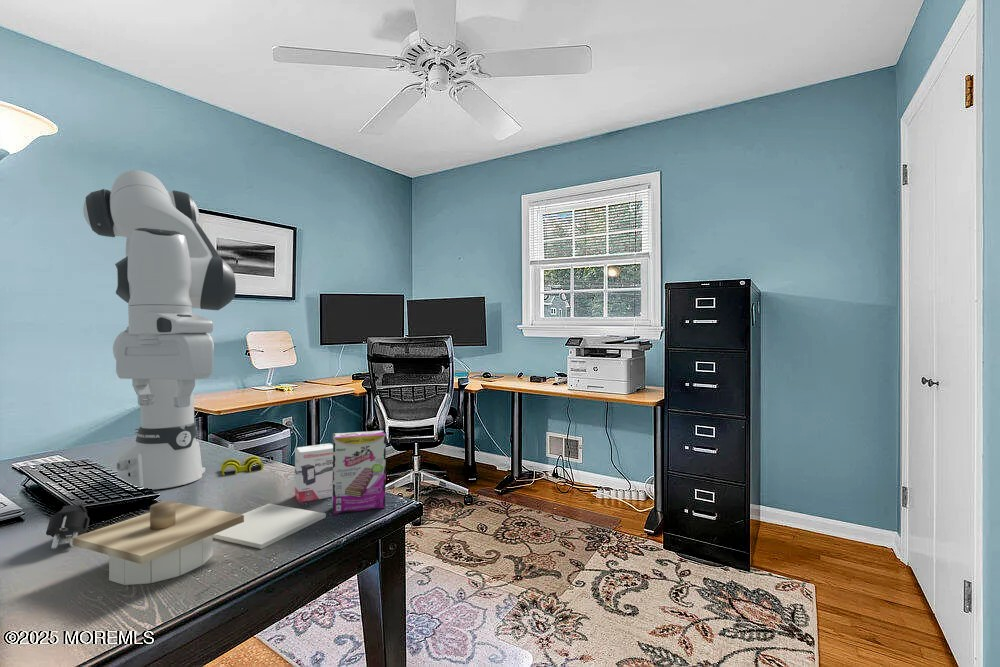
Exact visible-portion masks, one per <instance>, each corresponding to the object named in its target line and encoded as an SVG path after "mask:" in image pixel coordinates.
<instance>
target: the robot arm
mask: <svg viewBox="0 0 1000 667" xmlns="http://www.w3.org/2000/svg"><path fill="white" fill-rule="evenodd" d="M82 207H83V208H82V210H83V211H82V212H83V217H84V219H85V221H86V223H87V224H88V226H89V227H90V228H91V231H92V232H94V233H95V234H97V235H98V236H101V237H107V238H108V237H109V238H116V237H124V238H126V240H125V257H124V258H122V259H120V260H119V261H118V262H116V263H115V264H114V265H115V268H116V277H117V278H116V282H117V283H116V285H117V287H116V290H115V294H116V295H117V297H119V298H120V299H121V300H123V301H124V302H126V303H127V304H128V305H127V307H128V310H127V311H128V313H127V314H128V326H127V327H126V329H125V330H123V331H121V332H120V333H119V334H117V336H116V338H115V339H114V342H113V345H112V353H113V357H114V359H115V372H116V375H117V377H118V378H119V379H121V380H125V379H126V380H132V381H131V382H132V384H131V386H132V388H133V390H134V392H135V395H137V404H138V405H139V406H140V427H139V428H136V429H134V431H135V432H134V435H135V434H136V438H135V443H134V444H133V445H132V446H130V447H129V449H127V450H126V451H125V452H124V453H123V454H122V455H121V456H120V457H119V458H118V461H117V462H116V470H117V472H116V473H117V474H116V475H117V476H119V477H121V478H123V479H124V480H126V481H128V482H129V483H131V484H133V485H135V486H138V487H144V488H148V489H152V490H160V489H162V490H163V489H169V488H175V487H179V486H182V485H187V484H190V483H193V482H195V481H198V480H200V479H202V477H203V474H204V473H205V472H206V467H204V466H203V465H202V458H201V455H202V454H201V448H200V443H199V441H197V440H196V437H197V429H198V427H197V423H196V422H195V394H194V389H195V387H196V380H204V379H205V380H207V379H209V378H210V377H211V375H212V374H213V371H214V349H215V342H214V340H213V337H212V336H211V333H213V330H214V323H213V321H212V320H211V319H208V318H206V317H203V316H200V315H198V314H197V313H194V312H193V309H200V310H205V311H206V310H209V311H219V310H221V309H223V308H225V307H226V306H227V305H228V304H230V303H231V302H232V301H233V300H234V299H235V296H236V292H237V282H236V281H237V280H236V276H235V273H234V270H233V269H232V267H231V266H230V265H229V263H228V262H226V261H225V260H224V259H223V258H222V257H221V256H220V254H219V253H218V251H217V249H216V248H215V246H214V245H213V243H212V242H211V240H210V239H209V238H208V235H207V234H206V233H205V231H204V230H203V228H202V227H201V226H200V224H199V219H200V213H199V212H200V211H199V208H198V206H197V204H196V202H195V201H194V199H193V197H192V196H191V195H190V194H189V193H187V192H183V191H181V190H180V191H179V190H172V191H171V190H167V188H166V187H165V185H164V184H163V183H162V181H161V180H160V179H159V178H158V177H156V175H154V174H152V173H150V172H147V171H146V170H145V171H143V170H138V169H136V170H135V169H133V170H131V169H130V170H127V171H125V172H122V173H121V174H119V175H118V176H117V177H116V179H115V180H114V182H113V184H112V187H111V189H105V188H102V189H100V190H95V191H91V192H90V193H89V194H87V195H86V196H85V200H84V203H83V206H82Z"/></svg>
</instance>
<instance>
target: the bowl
mask: <svg viewBox="0 0 1000 667" xmlns="http://www.w3.org/2000/svg"><path fill="white" fill-rule="evenodd" d="M213 555H214V538H213V535H211V536H208V537H206V538H204V539H201V540H199V541H196V542H194V543H192V544H189V545H187V546H184V547H182V548H179V549H177V550H175V551H172V552H170V553H167V554H165V555H163V556H160V557H158V558H155V559H153V560H150V561H148V562H146V563H143V564H139V563H135V562H132V561H128V560H124V559H121V558H117V557H113V556H110V555H108V580H109V581H111V582H114V583H117V584H120V585H123V586H129V585H131V586H132V585H145V584H154V583H157V582H160V581H165V580H169V579H173V578H176V577H180V576H182V575H185V574H187V573H189V572H191V571H194V570H195V569H198V568H199V567H202V566H204V565H205V563H206V562H208V560H210V559H211V558H212V557H213Z"/></svg>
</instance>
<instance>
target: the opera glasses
mask: <svg viewBox="0 0 1000 667" xmlns="http://www.w3.org/2000/svg"><path fill="white" fill-rule="evenodd" d="M255 464H258V466H259V468H260V471H262V470H264V465H263V463H262V461H261V459H260V457H258V456H257V455H251V456H249V457H247V458H246V459H244V461H243V463H242V464H241V462H240V461H239V460H237V459H236V458H230V459H229V458H228V459H226V460H225V461H223V463H222V464H221V467H220V472H222V476H226V475H225V474H226V473H225V470H226V469H227V468H231V467H232V468H234V470H235V473H234V475H237V473H241V472H249V473H252V466H253V465H255Z"/></svg>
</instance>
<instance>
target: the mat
mask: <svg viewBox="0 0 1000 667" xmlns="http://www.w3.org/2000/svg"><path fill="white" fill-rule="evenodd" d="M240 514H241V513H240ZM241 515H244V522H242V523H240V524H237V525H235V526H233V527H230V528H228V529H225V530H223V531H221V532H218V533H216V534H213V539H216V540H221V541H225V542H228V543H233V544H236V545H237V544H238V545H242V546H247V547H251V548H256V549H261V550H262V549H265V548H266V547H268V546H271V545H272V544H275V543H277V542H278V541H280V540H282V539H284V538H287V537H288V536H289V537H290V535H293V534H294V533H297V532H299V531H301V530H303V529H305V528H307V527H309V526H311V525H313V524H315V523H317V522H319V521H321V520H323V519H326V518H327V517H326V516H327V513H325V512H320V511H313V510H308V509H303V508H296V507H292V506H286V505H285V506H284V505H278V504H274V503H267V504H265V505H262V506H259V507H257V508H254V509H252V510H249V511H247V512H243V513H242V514H241Z"/></svg>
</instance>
